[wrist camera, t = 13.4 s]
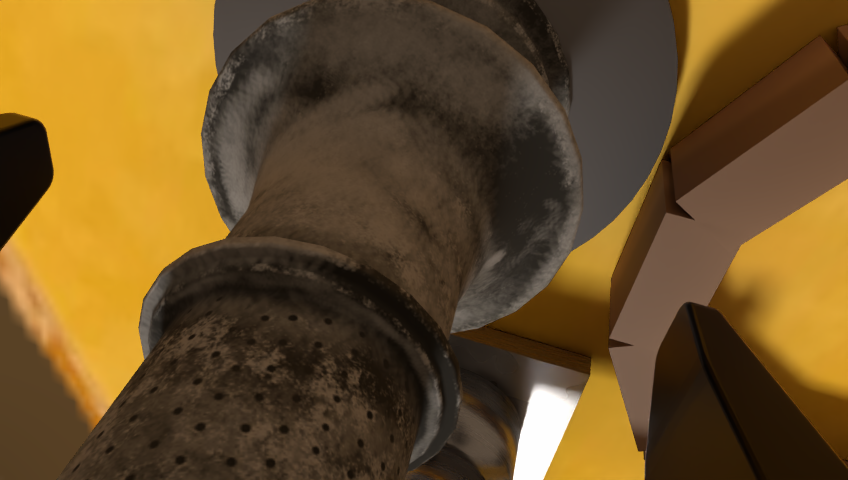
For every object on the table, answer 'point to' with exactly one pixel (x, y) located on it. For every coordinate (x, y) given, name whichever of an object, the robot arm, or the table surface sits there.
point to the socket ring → (724, 204)
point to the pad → (572, 87)
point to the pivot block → (513, 402)
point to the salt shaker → (351, 243)
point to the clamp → (445, 469)
